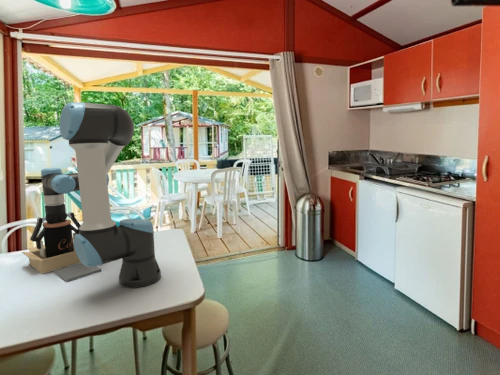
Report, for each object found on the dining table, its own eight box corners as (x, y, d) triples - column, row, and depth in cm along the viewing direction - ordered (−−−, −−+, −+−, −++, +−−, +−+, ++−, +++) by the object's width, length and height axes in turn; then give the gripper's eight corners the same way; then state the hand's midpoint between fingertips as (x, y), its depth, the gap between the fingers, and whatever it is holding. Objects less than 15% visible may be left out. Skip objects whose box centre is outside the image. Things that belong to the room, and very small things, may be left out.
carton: (99, 259, 144) (98, 245, 143) (36, 277, 125) (35, 261, 124) (80, 249, 157) (79, 236, 156) (21, 264, 138) (19, 250, 138)
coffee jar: (62, 267, 135) (57, 226, 132) (40, 265, 137) (36, 225, 134) (80, 258, 145) (76, 219, 142) (60, 256, 147) (56, 218, 145)
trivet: (101, 271, 130) (101, 268, 130) (66, 282, 120) (66, 279, 120) (87, 263, 139) (87, 261, 138) (54, 273, 129) (54, 270, 129)
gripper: (81, 198, 149) (85, 242, 152) (17, 207, 130) (23, 257, 133) (88, 200, 144) (92, 245, 147) (23, 210, 125) (29, 261, 129)
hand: (60, 251), depth 140 cm, fingers open, 13 cm apart
